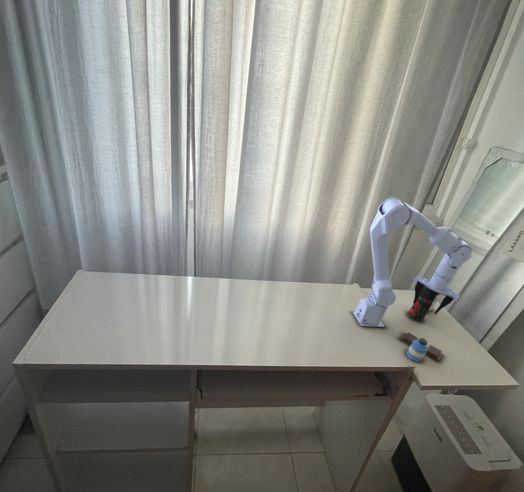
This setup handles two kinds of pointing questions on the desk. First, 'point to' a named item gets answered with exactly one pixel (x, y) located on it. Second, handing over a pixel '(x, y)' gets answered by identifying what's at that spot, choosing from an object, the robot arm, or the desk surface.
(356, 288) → the desk surface
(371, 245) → the robot arm
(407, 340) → the snack bar
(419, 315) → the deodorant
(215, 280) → the desk surface
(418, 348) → the bottle
